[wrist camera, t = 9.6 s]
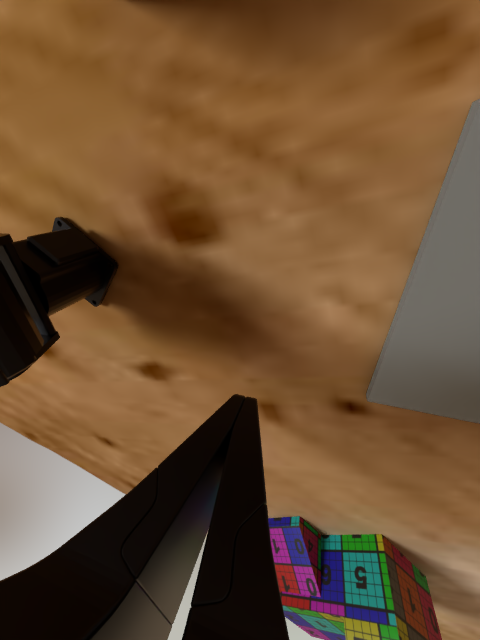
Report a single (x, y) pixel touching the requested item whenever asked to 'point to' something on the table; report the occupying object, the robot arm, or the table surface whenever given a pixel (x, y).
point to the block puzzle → (349, 585)
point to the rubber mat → (441, 302)
